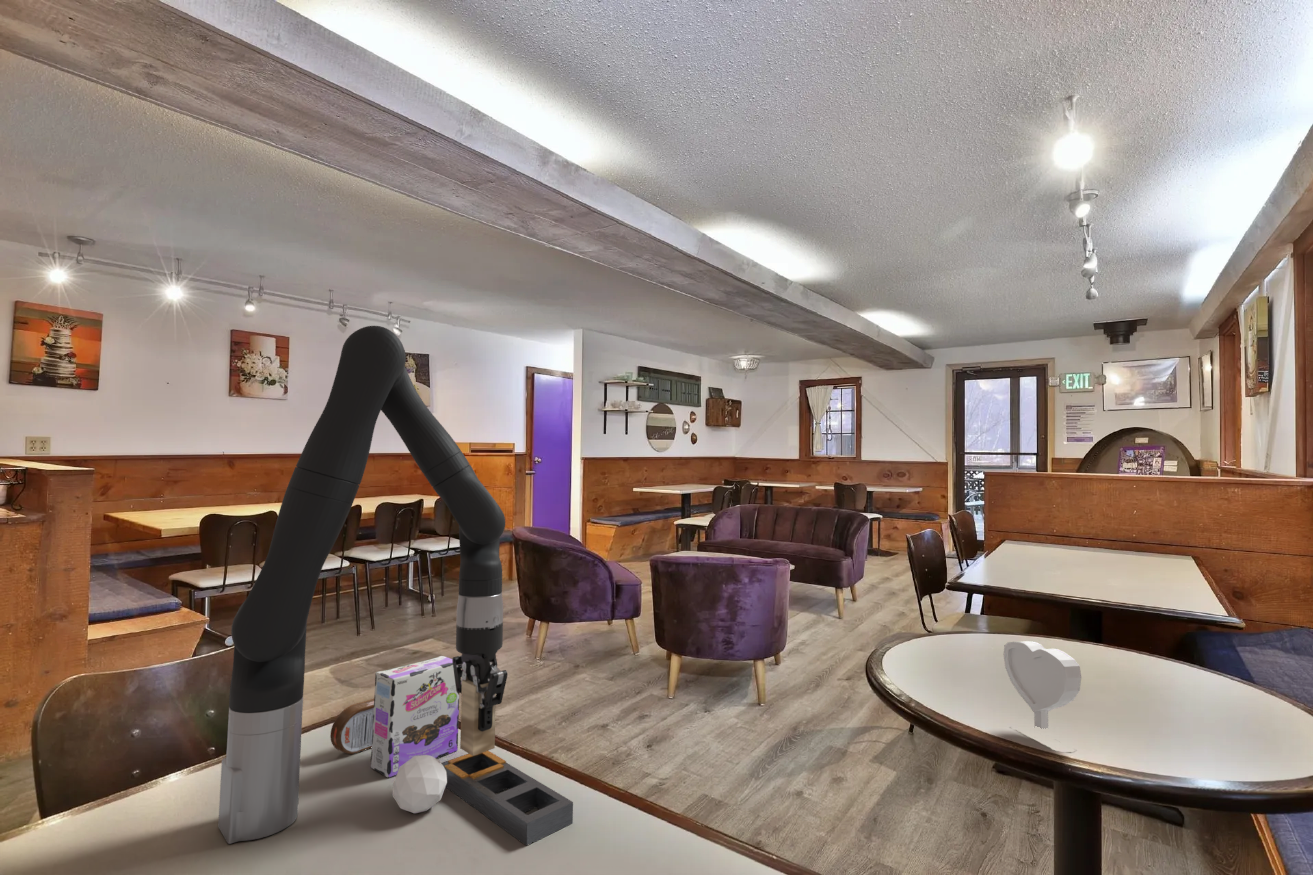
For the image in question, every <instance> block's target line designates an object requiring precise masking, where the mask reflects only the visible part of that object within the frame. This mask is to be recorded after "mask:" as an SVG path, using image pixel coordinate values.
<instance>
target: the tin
mask: <svg viewBox="0 0 1313 875" xmlns="http://www.w3.org/2000/svg"><path fill="white" fill-rule="evenodd" d="M373 715H374V698H371V699H367V700H364V701H360V702H357V703H353V704H351V705H349V706H347V707H346V708H344V709H343V710H342V711H341V712H340V713H339V714H338V716H336V718H335V720H334V721H333V724H332V726H331V729H330V736H329V738H330V741H331V745H332V746H333V747H334V748H335V749H336V750H338V751H340V752H342V753H344V754H347V755H355V754H354V753H356V754H358V752H359V753H361V752H360V751H362V752H364V751H363V750H365V749H367V750H369V749H368V748H370V749H372V748H371V747H372V735H373V734H372V733H373ZM365 751H366V750H365Z"/></svg>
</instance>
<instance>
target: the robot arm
mask: <svg viewBox="0 0 1313 875" xmlns="http://www.w3.org/2000/svg"><path fill="white" fill-rule="evenodd" d="M406 357H407V355H406V350H405V347H404V345H403V342H402V341H401V339H400V338H399V337H398V336H397V335H396V333H394V332H393V331H392V330H391V329H389V328H386V327H384V326H379V325H367V326H363V327H361V328H359V329H357V330H355V331H353V333H351V334H349V336H348V337H347V338H346V339H345V341H344V343H343V345H342V348H341V353H340V357H339V361H338V365H337V369H336V371H335V372H336V373H335V376H334V380H333V383H332V386H331V390H330V393H329V396H328V399H327V400H326V401H327V402H326V404H325V407H324V408H323V411H322V413H321V414H320V416H319V418H318V419H317V421H316V423H315V425H314V428H313V429H312V431H311V433H310V435H309V437H308V439H307V440H306V444H305V446H304V447H303V450H302V452H301V454H300V456H299V458H298V460H297V463H296V464H295V467H294V469H293V472H292V475H291V477H290V479H289V482H288V485H287V487H286V490H285V492H284V495H283V499H282V502H281V505H280V508H279V511H278V515H277V519H276V522H275V526H274V529H273V532H272V534H273V535H272V538H271V542H270V545H269V549H268V553H267V556H266V558H265V561H264V564H263V565H262V568H261V569H260V572H259V574H258V576H257V577H256V580H255V582H254V584H253V585H252V588H251V589H250V592H249V593H248V596H246V598H245V600H244V601H243V603H242V604H241V605H240V606H239V608H238V611H237V612H236V614H235V616H234V618H233V620H232V624H231V632H230V633H231V638H232V639H231V640H232V642H233V645H234V647H233V663H232V671H231V678H230V679H231V680H230V687H229V696H228V697H229V698H228V701H229V702H228V721H227V723H228V724H227V740H226V741H227V742H226V757H224V758H222V759H221V767H220V785H219V786H220V790H219V803H218V804H219V805H218V806H219V807H218V820H217V821H218V822H217V823H218V824H217V825H218V827H217V828H218V829H219V831H220V832H221V835H223V837H224V839H225V841H226V843H227V844H228V845H230V844H233V843H237V842H242V841H252V840H259V839H262V838H266V837H269V836H271V835H274V834H277V833H279V832H280V831H283V830H284V829H286V828H288V827H289V826H290V825H292V824H293V823H294V822H295V821H296V820H297V817H298V810H299V794H300V793H299V791H300V790H299V789H300V788H299V787H300V770H301V769H300V768H301V752H302V751H301V750H302V749H301V748H302V747H301V746H302V728H303V710H304V708H303V707H304V706H303V704H304V687H305V671H306V670H305V669H306V666H305V664H306V662H305V661H306V645H307V644H306V641H307V626H308V624H307V623H308V616H309V614H310V609H311V605H312V601H313V598H314V594H315V591H316V587H317V584H318V580H319V577H320V574H321V572H322V570H323V566H324V564H325V563H326V561H327V558H328V557H329V555H330V553H331V551H332V549H333V547H334V545H335V543H336V541H337V539H338V537H339V535H340V533H341V530H342V529H343V527H344V525H345V522H346V520H347V518H348V516H349V513H350V511H351V509H352V506H353V504H354V501H355V498H356V496H357V494H358V491H359V488H360V485H361V482H362V480H363V476H364V474H365V470H366V466H367V463H368V460H369V459H368V458H369V455H370V451H371V446H372V441H373V437H374V432H375V428H376V425H377V424H376V423H377V420H378V418H379V415H380V412H382V413H383V414H384V416H385V417H386V418H387V420H388V421H389V422H390V424H391V425H392V426H393V428H394V430H395V431H396V432H397V434H398V435H399V437H400V439H401V440H402V442H403V444H404V445H405V447H406V448H407V450H408V451H409V453H410V455H411V456H412V458H413V460H414V462H415V463H416V465H417V466H418V469H419V470H420V471H421V473H422V474H423V475H424V477H425V478H426V480H427V481H428V483H429V484H430V486H431V487H432V488H433V490H434V492H435V493H436V495H437V496H439V497H440V499H442V501H443V502H444V503H445V505H446V506H447V508H448V510H449V511H450V513H451V515H452V516H453V517H454V520H455V522H456V523H457V524H458V536H459V537H458V538H459V552H460V553H459V556H460V566H459V574H458V596H457V597H458V599H457V605H456V620H455V621H456V622H455V623H456V626H455V628H456V630H455V650H456V651H457V652H458V654H459V653H460V654H461V655H457V656H453V657H452V662H453V669H454V677H455V684H456V691H457V693H459V694H461V695H462V680H464V681H468V680H470V681H472V682H473V683H474V685H475V686H476V693H477V694H478V703H479V707H480V708H479V711H478V730H480V731H485V730H488V729H491V727H492V716H493V706H494V705H501V704H502V702H503V698H504V694H505V693H504V692H505V689H506V685H507V684H506V683H507V679H508V670H506V669H503V670H500V668H498V661H497V653H498V651H500V650H501V649H502V647H503V642H504V641H503V638H504V637H503V636H504V633H503V632H504V600H503V566H502V561H501V557H500V541H501V540H500V538H501V537H502V535H503V533H504V532H505V528H506V516H505V514H504V512H503V510H502V509H501V507H500V505H499V504H498V502H497V501H496V499H495V498H494V497H493V496H492V494H491V493H490V492H489V491H488V489H487V488H486V487H485V485H484V484H483V483H482V482H481V481H480V479H479V478H478V476H477V474H476V472H475V470H474V468H473V467H472V464H470V462H469V461H468V459H467V457H466V456H465V455H464V453H463V452H462V451H461V448H460V447H459V445H458V443H457V442H456V441H455V440H454V439H453V437H452V436H451V435H450V433H449V432H448V431H447V430H446V428H445V427H444V426H443V425H442V424H441V423H440V422H439V420H438V419H437V418H436V417H435V416H434V414H433V413H432V412H431V410H429V407H427V405H426V404H425V402H424V400H423V399H422V398H421V396H420V394H419V393H418V391H417V390H416V387H415V385H414V384H413V381H412V379H411V377H410V375H409V373H408V370H407V368H406V363H407V362H406V361H407V358H406ZM486 683H489V684H488V686H486V687H481V686H480V685H483V684H486ZM484 692H487V693H486V698H485V699H484ZM495 694H496V697H495Z"/></svg>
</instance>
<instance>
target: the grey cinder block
mask: <svg viewBox="0 0 1313 875" xmlns="http://www.w3.org/2000/svg"><path fill="white" fill-rule="evenodd" d="M441 764H442V765H443V766H444V768H445V770H446V773H447V784H446V787H445V789H448V790H449V791H450V792H452V793H453V794H455V795H456V796H457V797H458V798H460V799H461V800H463V801H464V802H465V803H467V804H468V805H469V806H471V807H473V808H474V809H475V810H476V811H478V812H480V813H481V815H483V816H485V817H487V819H489V820H490V821H492V822H493V823H494V824H496V825H497V826H499V827H500V828H501V829H502V830H504V831H506V832H507V833H508V834H510V835H511V836H512V837H513V838H516V839H517V840H518V841H519V840H520V842H521V843H522V842H523V843H524V844H523V843H522V844H523V845H525V846H526V845H528V844H530V845H531V843H532V842H534V843H536V842H537V840H538V841H540V840H541V838H542V839H544V838H546V837H548V836H549V835H552V834H553V833H555V832H558V831H560V830H561V829H564V828H566V827H568V826H570V825H571V824H573V823H574V822H573V821H574V818H573V817H574V816H573V815H574V801H572V800H571V799H569V798H567V797H566V796H563V795H562V794H560V793H559V792H557V791H555V790H553V789H552V788H551V787H548V786H547V785H545V784H544V783H542V782H540V781H538V780H537V779H535V778H534V777H532V776H530V775H528V774H526V773H524V772H523V771H521V770H520V769H518V768H517V767H515V766H514V765H513V766H512V765H511V764H510V763H508V762H507V760H505V759H503V758H502V757H500V756H498V755H496V754H494V753H493V752H491V750H488V751H486V752H483V753H480V754H477V755H474V756H472V755H470V754H469V753H465V754H464V755H460V756H457V757H454V758H451V759H449V760H445V761H442V762H441ZM536 808H537V809H538V810H536V811H534V812H531V813H530V814H526V813H527V812H529V811H531V809H532V810H533V809H536ZM559 829H560V830H559ZM547 835H548V836H547ZM545 836H546V837H545ZM535 841H536V842H535ZM532 844H533V843H532ZM528 846H529V845H528Z"/></svg>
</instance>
